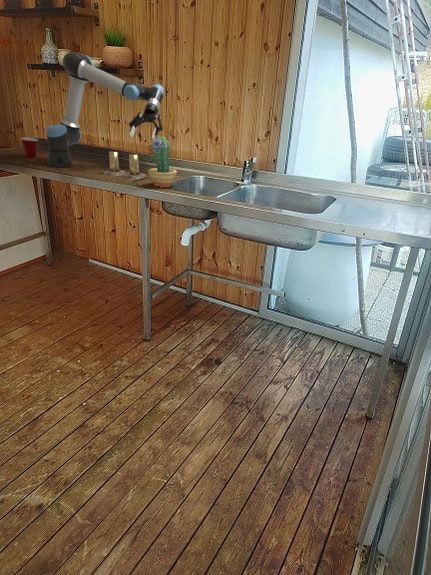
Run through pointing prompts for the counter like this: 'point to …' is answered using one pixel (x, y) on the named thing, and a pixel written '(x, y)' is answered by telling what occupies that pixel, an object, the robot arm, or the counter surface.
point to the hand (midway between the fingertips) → (141, 137)
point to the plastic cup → (30, 146)
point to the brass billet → (134, 164)
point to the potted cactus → (162, 163)
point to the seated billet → (113, 162)
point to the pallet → (124, 175)
